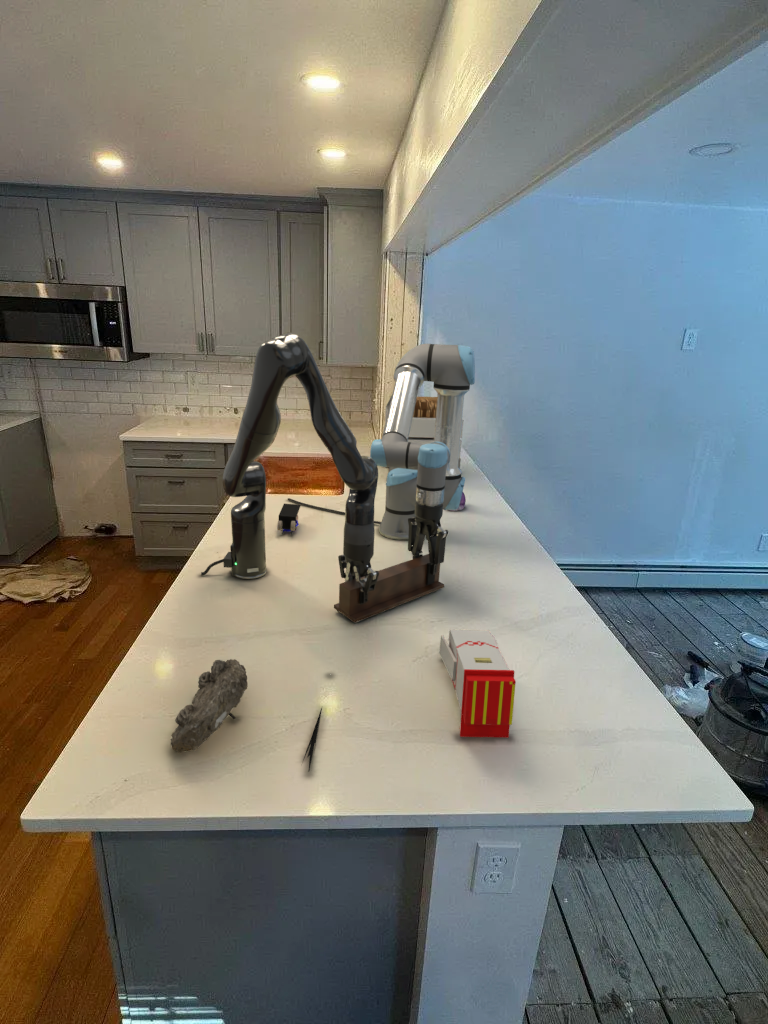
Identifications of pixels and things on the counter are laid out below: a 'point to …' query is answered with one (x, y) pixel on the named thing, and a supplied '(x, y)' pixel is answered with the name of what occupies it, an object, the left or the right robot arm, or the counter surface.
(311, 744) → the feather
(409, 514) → the right robot arm
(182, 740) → the fossil
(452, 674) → the toy
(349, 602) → the rail
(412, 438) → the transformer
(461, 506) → the figurine
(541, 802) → the counter surface
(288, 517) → the figurine character
